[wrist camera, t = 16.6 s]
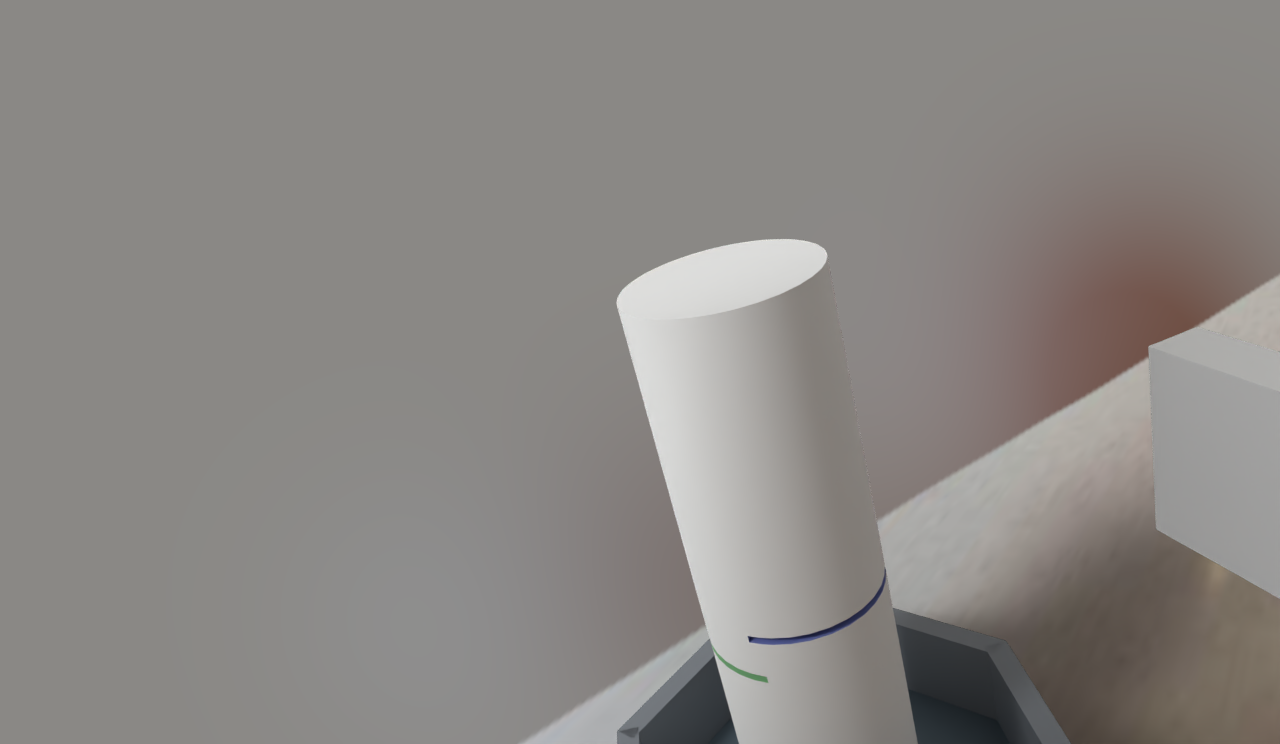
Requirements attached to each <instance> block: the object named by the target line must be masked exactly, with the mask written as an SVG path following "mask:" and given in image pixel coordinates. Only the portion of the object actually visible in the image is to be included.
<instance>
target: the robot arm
mask: <svg viewBox="0 0 1280 744" xmlns="http://www.w3.org/2000/svg"><path fill="white" fill-rule="evenodd" d="M1149 370H1150V395H1151V419H1152V443H1153V467H1154V491H1155V515H1156V530H1158V531H1160V532H1162V533H1164V534H1165V535H1167V536H1169V537H1171V538H1172V539H1174V540H1176V541H1178V542H1180V543H1181V544H1183V545H1185V546H1187V547H1188V548H1190V549H1192V550H1194V551H1196V552H1197V553H1199V554H1201V555H1203V556H1205V557H1206V558H1208V559H1210V560H1212V561H1213V562H1215V563H1217V564H1219V565H1221V566H1222V567H1224V568H1226V569H1228V570H1229V571H1231V572H1233V573H1235V574H1237V575H1238V576H1240V577H1242V578H1244V579H1245V580H1247V581H1249V582H1251V583H1253V584H1254V585H1256V586H1258V587H1260V588H1261V589H1263V590H1265V591H1267V592H1269V593H1270V594H1272V595H1274V596H1276V597H1278V598H1279V599H1280V352H1279V351H1275V350H1272V349H1269V348H1265V347H1262V346H1259V345H1256V344H1252V343H1249V342H1246V341H1242V340H1239V339H1236V338H1233V337H1229V336H1226V335H1223V334H1219V333H1216V332H1213V331H1210V330H1206V329H1203V328H1200V327H1196V328H1193V329H1191V330H1188V331H1186V332H1183V333H1181V334H1178V335H1176V336H1173V337H1171V338H1168V339H1166V340H1164V341H1161V342H1158V343H1156V344H1153V345H1151V346H1149Z"/></svg>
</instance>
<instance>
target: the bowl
mask: <svg viewBox="0 0 1280 744" xmlns="http://www.w3.org/2000/svg"><path fill="white" fill-rule="evenodd" d="M893 612H894V617H895V623H896V628H897V634H898V639H899V644H900V650H901V655H902V661H903V666H904V671H905V677H906V682H907V688H908V693H909V698H910V704H911V709H912V715H913V720H914V725H915V731H916V736H917V742H918V744H1071V743H1070V741H1069V740H1068V738H1067V736H1066V735H1065V733H1064V732H1063V730H1062V729H1061V727H1060V725H1059V724H1058V722H1057V721H1056V719H1055V717H1054V716H1053V714H1052V713H1051V711H1050V710H1049V708H1048V706H1047V705H1046V703H1045V702H1044V700H1043V698H1042V697H1041V695H1040V694H1039V692H1038V691H1037V689H1036V687H1035V686H1034V684H1033V683H1032V681H1031V679H1030V678H1029V676H1028V675H1027V673H1026V672H1025V670H1024V668H1023V667H1022V665H1021V664H1020V662H1019V661H1018V659H1017V657H1016V656H1015V654H1014V653H1013V651H1012V649H1011V648H1010V646H1009V645H1008V643H1007V642H1006V641H1005V640H1002V639H998V638H995V637H992V636H988V635H985V634H981V633H978V632H974V631H971V630H967V629H964V628H961V627H957V626H954V625H950V624H947V623H943V622H940V621H936V620H933V619H930V618H926V617H923V616H919V615H916V614H912V613H909V612H905V611H902V610H899V609H895V608H893ZM617 744H739V742H738V739H737V735H736V731H735V728H734V724H733V721H732V717H731V713H730V710H729V706H728V702H727V699H726V695H725V692H724V688H723V684H722V681H721V677H720V674H719V670H718V666H717V663H716V659H715V655H714V652H713V648H712V645H711V641H710V639H709V640H708V641H707V642H706V643H705V644H704V645H703V646H702V647H701V648H700V649H699V650H698V651H697V652H696V653H695V654H694V655H693V656H692V657H691V658H690V659H689V660H688V661H687V662H686V663H685V664H684V665H683V666H682V667H681V668H680V669H679V670H678V671H677V672H676V673H675V674H674V675H673V676H672V677H671V678H670V679H669V680H668V681H667V682H666V683H665V684H664V685H663V686H662V687H661V688H660V689H659V690H658V691H657V692H656V693H655V694H654V695H653V696H652V697H651V698H650V699H649V700H648V701H647V702H646V703H645V704H644V705H643V706H642V707H641V708H640V709H639V710H638V711H637V712H636V713H635V714H634V715H633V716H632V717H631V718H630V719H629V720H628V721H627V722H626V723H625V724H624V725H623V726H622V727H621V728H620V729H619V730H618V731H617Z"/></svg>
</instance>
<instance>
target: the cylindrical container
mask: <svg viewBox="0 0 1280 744" xmlns="http://www.w3.org/2000/svg"><path fill="white" fill-rule="evenodd" d="M616 304H617V307H618V311H619V314H620V318H621V322H622V325H623V329H624V333H625V336H626V339H627V343H628V347H629V350H630V354H631V358H632V361H633V365H634V369H635V372H636V376H637V379H638V383H639V387H640V390H641V393H642V397H643V401H644V405H645V408H646V412H647V415H648V419H649V423H650V426H651V430H652V433H653V437H654V440H655V444H656V448H657V451H658V455H659V458H660V462H661V465H662V469H663V473H664V477H665V480H666V484H667V487H668V491H669V495H670V498H671V502H672V505H673V509H674V513H675V516H676V520H677V523H678V527H679V531H680V534H681V538H682V541H683V545H684V549H685V552H686V556H687V559H688V563H689V567H690V570H691V574H692V577H693V581H694V584H695V588H696V592H697V596H698V599H699V603H700V606H701V610H702V613H703V616H704V620H705V624H706V627H707V630H708V634H709V637H710V641H711V645H712V648H713V652H714V655H715V659H716V663H717V666H718V670H719V674H720V677H721V681H722V684H723V688H724V692H725V695H726V699H727V702H728V706H729V710H730V713H731V717H732V721H733V724H734V728H735V731H736V735H737V739H738V742H739V744H918V742H917V736H916V731H915V725H914V720H913V715H912V709H911V704H910V698H909V693H908V688H907V682H906V677H905V671H904V666H903V661H902V655H901V650H900V644H899V639H898V634H897V628H896V623H895V617H894V612H893V607H892V601H891V596H890V590H889V585H888V580H887V574H886V569H885V563H884V558H883V553H882V547H881V542H880V536H879V531H878V526H877V520H876V515H875V509H874V504H873V499H872V493H871V488H870V483H869V477H868V472H867V466H866V461H865V455H864V450H863V445H862V440H861V434H860V428H859V423H858V418H857V412H856V407H855V402H854V396H853V391H852V386H851V380H850V374H849V369H848V364H847V358H846V353H845V348H844V342H843V337H842V332H841V326H840V321H839V316H838V310H837V305H836V299H835V293H834V288H833V283H832V278H831V272H830V267H829V261H828V257H827V253H826V251H825V249H824V248H822V247H821V246H819V245H817V244H814V243H811V242H808V241H801V240H794V239H771V240H758V241H750V242H742V243H737V244H731V245H726V246H722V247H717V248H713V249H709V250H705V251H701V252H698V253H695V254H691V255H688V256H685V257H682V258H679V259H677V260H674V261H671V262H669V263H666V264H664V265H662V266H660V267H657V268H655V269H653V270H651V271H649V272H647V273H645V274H644V275H642V276H640V277H638V278H637V279H635V280H634V281H632V282H631V283H630V284H629V285H627V286H626V287H625V288H624V289H623V290H622V291H621V293H620V294H619V296H618V298H617V303H616Z"/></svg>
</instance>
